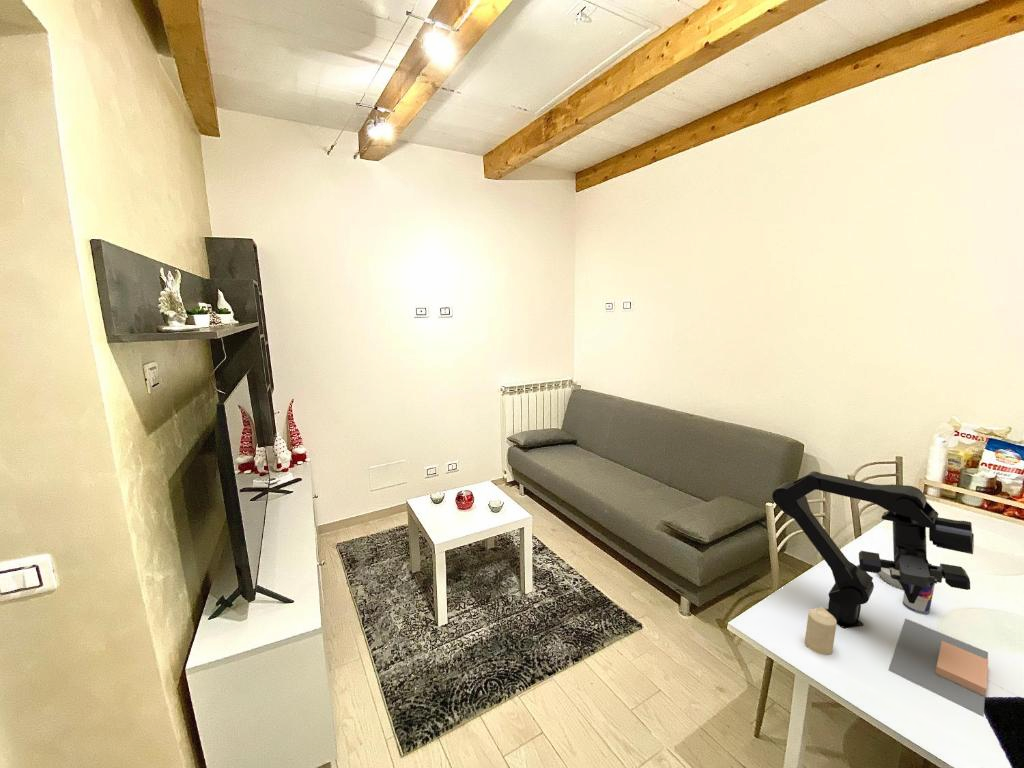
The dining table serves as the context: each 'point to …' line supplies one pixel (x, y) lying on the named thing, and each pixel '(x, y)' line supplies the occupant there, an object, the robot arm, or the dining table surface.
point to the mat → (932, 664)
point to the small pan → (889, 578)
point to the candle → (820, 631)
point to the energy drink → (920, 601)
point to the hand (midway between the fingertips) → (911, 602)
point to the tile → (963, 668)
